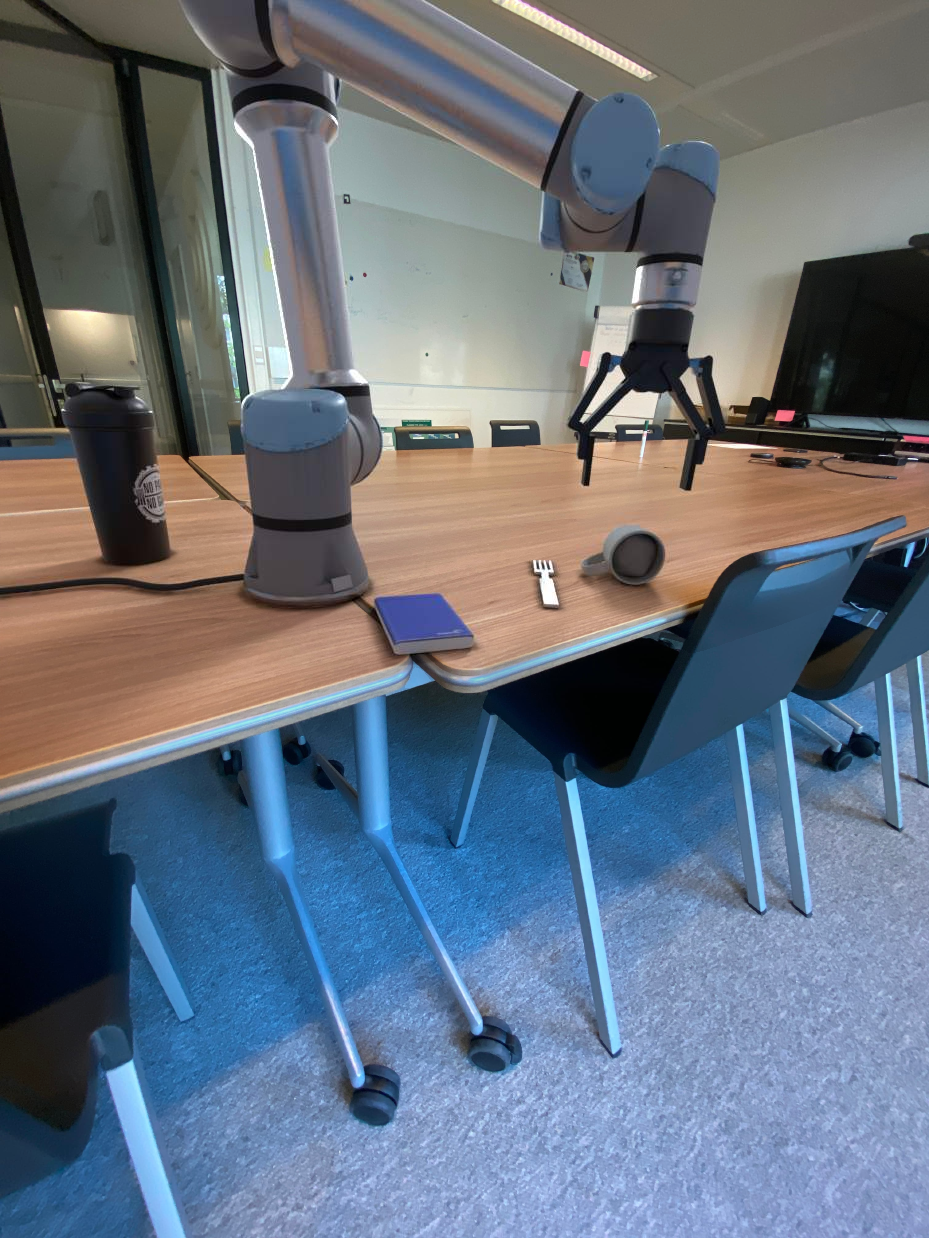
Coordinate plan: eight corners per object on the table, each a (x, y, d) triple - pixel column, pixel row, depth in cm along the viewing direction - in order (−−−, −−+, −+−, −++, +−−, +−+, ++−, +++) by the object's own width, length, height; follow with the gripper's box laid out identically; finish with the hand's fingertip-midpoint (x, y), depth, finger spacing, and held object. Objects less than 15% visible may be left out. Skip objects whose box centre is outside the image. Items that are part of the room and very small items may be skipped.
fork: (539, 607, 66) (540, 603, 65) (532, 562, 83) (532, 559, 83) (562, 608, 65) (562, 604, 65) (550, 563, 83) (550, 560, 83)
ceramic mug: (645, 569, 82) (653, 519, 79) (660, 586, 75) (670, 532, 72) (576, 566, 83) (581, 517, 80) (585, 583, 75) (591, 530, 72)
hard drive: (474, 633, 54) (441, 592, 64) (394, 640, 51) (373, 596, 62) (473, 647, 54) (441, 604, 65) (394, 655, 52) (374, 609, 63)
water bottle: (154, 568, 72) (118, 384, 63) (79, 565, 72) (32, 380, 63) (190, 548, 82) (163, 386, 73) (124, 545, 82) (89, 382, 73)
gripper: (562, 302, 62) (545, 487, 70) (781, 308, 61) (738, 495, 69) (557, 312, 69) (542, 478, 77) (753, 317, 68) (717, 486, 76)
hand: (634, 487), depth 73 cm, fingers open, 13 cm apart
